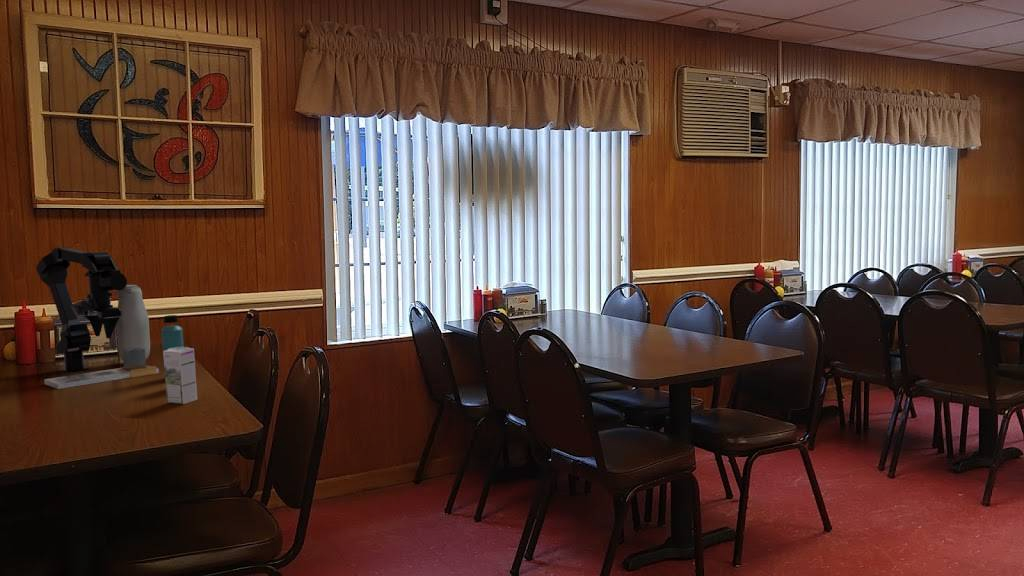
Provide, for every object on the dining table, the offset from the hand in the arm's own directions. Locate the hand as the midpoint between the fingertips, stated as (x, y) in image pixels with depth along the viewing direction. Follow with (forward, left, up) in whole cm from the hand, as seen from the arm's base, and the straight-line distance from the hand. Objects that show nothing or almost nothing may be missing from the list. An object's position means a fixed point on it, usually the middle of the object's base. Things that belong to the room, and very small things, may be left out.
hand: (103, 337), depth 255 cm
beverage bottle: (+29, +10, -12) cm, 33 cm away
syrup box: (+64, -4, -12) cm, 65 cm away
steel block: (+9, +6, -12) cm, 16 cm away
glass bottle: (-11, +14, -12) cm, 22 cm away
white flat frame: (+9, -4, -12) cm, 16 cm away
